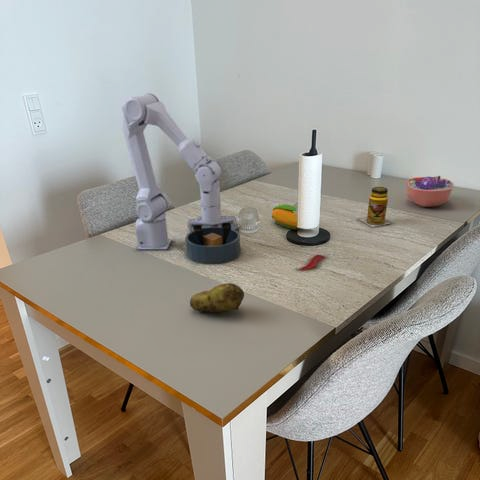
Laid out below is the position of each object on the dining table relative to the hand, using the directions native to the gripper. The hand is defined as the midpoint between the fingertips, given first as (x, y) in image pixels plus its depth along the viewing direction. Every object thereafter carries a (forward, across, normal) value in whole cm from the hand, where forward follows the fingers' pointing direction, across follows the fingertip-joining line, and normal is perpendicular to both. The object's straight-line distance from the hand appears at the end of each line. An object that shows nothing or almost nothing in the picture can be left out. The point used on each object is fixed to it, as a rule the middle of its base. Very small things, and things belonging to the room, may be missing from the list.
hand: (213, 247), depth 144 cm
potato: (+2, +3, +36) cm, 36 cm away
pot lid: (+1, -3, -21) cm, 21 cm away
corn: (+2, -30, -15) cm, 33 cm away
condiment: (+2, -59, -15) cm, 60 cm away
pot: (+2, 0, 0) cm, 2 cm away
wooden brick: (+1, 0, 0) cm, 1 cm away
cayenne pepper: (+2, -28, +14) cm, 31 cm away
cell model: (+2, -85, -28) cm, 90 cm away
